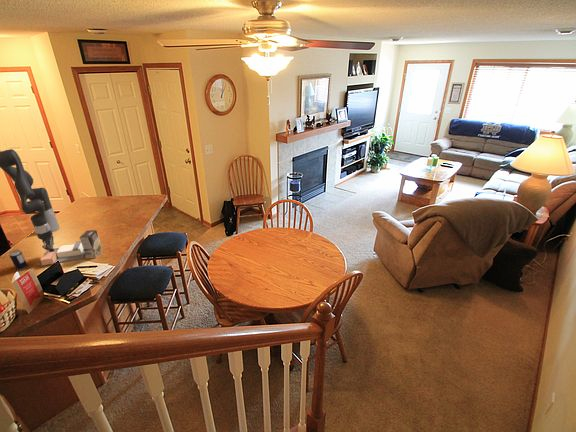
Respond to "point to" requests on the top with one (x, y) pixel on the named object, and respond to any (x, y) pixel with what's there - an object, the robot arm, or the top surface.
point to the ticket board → (65, 259)
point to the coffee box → (91, 244)
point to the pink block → (49, 258)
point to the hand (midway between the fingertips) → (52, 252)
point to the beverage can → (18, 259)
